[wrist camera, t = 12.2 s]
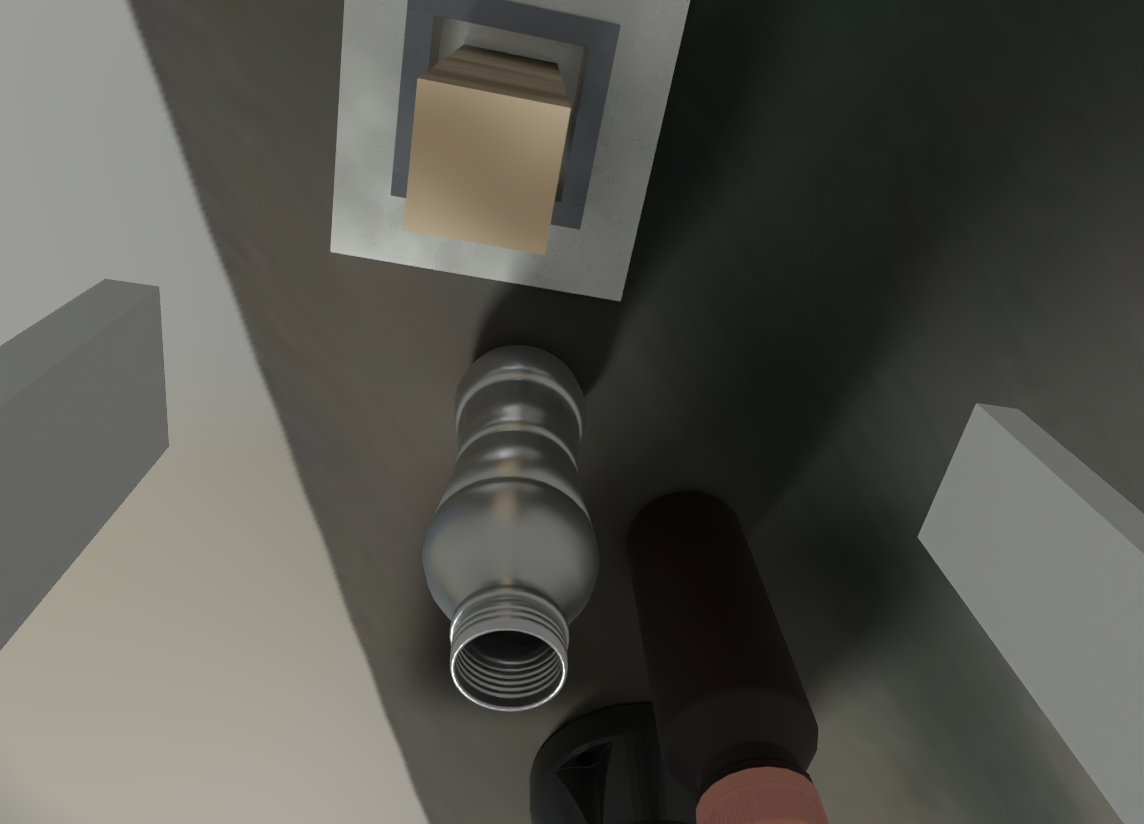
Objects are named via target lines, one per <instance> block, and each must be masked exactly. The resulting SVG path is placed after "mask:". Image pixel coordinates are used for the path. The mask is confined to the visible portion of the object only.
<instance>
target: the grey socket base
mask: <svg viewBox="0 0 1144 824" xmlns="http://www.w3.org/2000/svg"><path fill="white" fill-rule="evenodd" d="M689 4H690V0H345V3H344V20H343V38H342V56H341V74H340V91H339V109H338V127H337V145H336V162H335V180H334V198H333V216H332V233H331V251H330V252H335V253H341V254H346V255H352V256H358V257H364V258H370V259H376V260H381V261H387V262H393V263H399V264H405V265H411V266H417V267H422V268H428V269H434V270H440V271H446V272H452V273H457V274H463V275H469V276H475V277H481V278H487V279H493V280H498V281H504V282H510V283H516V284H522V285H528V286H533V287H539V288H545V289H551V290H557V291H563V292H569V293H574V294H580V295H586V296H592V297H598V298H604V299H610V300H615V301H621V298H622V294H623V289H624V285H625V281H626V276H627V272H628V268H629V263H630V259H631V255H632V250H633V246H634V242H635V237H636V233H637V229H638V224H639V220H640V216H641V211H642V207H643V203H644V198H645V194H646V190H647V185H648V181H649V177H650V173H651V168H652V164H653V160H654V155H655V151H656V147H657V142H658V138H659V134H660V129H661V125H662V121H663V116H664V112H665V108H666V103H667V99H668V95H669V90H670V86H671V82H672V77H673V73H674V69H675V64H676V60H677V56H678V51H679V47H680V43H681V39H682V34H683V30H684V26H685V21H686V17H687V13H688V8H689ZM464 44H465V45H470V46H475V47H480V48H484V49H489V50H494V51H499V52H504V53H509V54H514V55H519V56H524V57H529V58H534V59H539V60H544V61H549V62H554V63H557V64H558V67H559V70H560V74H561V77H562V80H563V84H564V87H565V90H566V94H567V97H568V100H569V104H570V107H571V110H570V116H569V122H568V127H567V133H566V139H565V144H564V150H563V155H562V161H561V167H560V172H559V178H558V184H557V189H556V195H555V201H554V206H553V212H552V217H551V223H550V229H549V234H548V240H547V246H546V251H545V255H542V254H537V253H531V252H525V251H519V250H513V249H508V248H502V247H496V246H490V245H484V244H479V243H473V242H467V241H461V240H456V239H450V238H444V237H438V236H432V235H427V234H421V233H415V232H409V231H403V228H404V217H405V206H406V196H407V185H408V174H409V164H410V153H411V142H412V132H413V121H414V110H415V100H416V89H417V78H418V77H420V76H421V75H422V74H424V73H425V72H427V71H428V70H429V69H431V68H432V67H433V66H435V65H436V64H438V63H439V62H440V61H442V60H443V59H444V58H446V57H447V56H449V55H450V54H451V53H453V52H454V51H455V50H457V49H458V48H460V47H461V46H462V45H464Z"/></svg>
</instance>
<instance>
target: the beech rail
mask: <svg viewBox="0 0 1144 824" xmlns="http://www.w3.org/2000/svg"><path fill="white" fill-rule="evenodd" d="M570 110H571V107H570V104H569V100H568V97H567V94H566V90H565V87H564V84H563V80H562V77H561V74H560V70H559V67H558V64H557V63H554V62H549V61H544V60H539V59H534V58H529V57H524V56H519V55H514V54H509V53H504V52H499V51H494V50H489V49H484V48H480V47H475V46H470V45H465V44H464V45H462V46H461V47H460V48H458V49H457V50H455V51H454V52H453V53H451V54H450V55H449V56H447V57H446V58H444V59H443V60H442V61H440V62H439V63H438V64H436V65H435V66H433V67H432V68H431V69H429V70H428V71H427V72H425V73H424V74H422V75H421V76H420V77H418V78H417V89H416V100H415V110H414V121H413V132H412V142H411V153H410V164H409V174H408V185H407V196H406V206H405V217H404V228H403V231H409V232H415V233H421V234H427V235H432V236H438V237H444V238H450V239H456V240H461V241H467V242H473V243H479V244H484V245H490V246H496V247H502V248H508V249H513V250H519V251H525V252H531V253H537V254H542V255H545V251H546V246H547V240H548V234H549V229H550V223H551V217H552V212H553V206H554V201H555V195H556V189H557V184H558V178H559V172H560V167H561V161H562V155H563V150H564V144H565V139H566V133H567V127H568V122H569V116H570Z"/></svg>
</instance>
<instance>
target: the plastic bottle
mask: <svg viewBox="0 0 1144 824" xmlns="http://www.w3.org/2000/svg"><path fill="white" fill-rule="evenodd" d="M585 419H586V403H585V399H584V396H583V393H582V390H581V388H580V386H579V384H578V382H577V380H576V378H575V377H574V375H573V373H572V371H571V370H570V369H569V368H568V367H567V366H566V364H565V363H564V362H562V361H561V360H560V359H559V358H557V357H556V356H555V355H553V354H551V353H549V352H547V351H545V350H543V349H540V348H537V347H533V346H527V345H508V346H503V347H499V348H496V349H494V350H491V351H489V352H487V353H485V354H484V355H482V356H481V357H480V358H478V359H477V360H476V361H475V362H474V363H473V364H472V365H471V366H470V368H469V369H468V370H467V372H466V373H465V375H464V376H463V378H462V380H461V381H460V383H459V385H458V387H457V390H456V394H455V397H454V422H455V428H456V434H457V459H456V462H455V466H454V469H453V473H452V476H451V479H450V483H449V485H448V487H447V489H446V491H445V493H444V496H443V498H442V500H441V502H440V504H439V506H438V508H437V510H436V512H435V514H434V517H433V518H432V520H431V524H430V527H429V530H428V532H427V535H426V539H425V542H424V545H423V565H424V570H425V575H426V579H427V583H428V587H429V590H430V592H431V594H432V596H433V598H434V600H435V602H436V603H437V604H438V606H439V607H440V608H441V610H442V611H443V612H444V613H445V614H446V616H447V617H448V618H449V619H450V620H451V625H450V637H449V638H450V644H451V654H450V671H451V676H452V679H453V681H454V684H455V686H456V687H457V688H458V689H459V691H460V692H461V693H462V694H463V695H464V696H465V697H467V698H468V699H469V700H471V701H473V702H474V703H476V704H478V705H480V706H483V707H485V708H488V709H493V710H497V711H507V712H514V711H524V710H529V709H533V708H535V707H538V706H541V705H543V704H545V703H546V702H548V701H550V700H551V699H552V698H553V697H555V696H556V695H557V694H558V693H559V691H560V690H561V689H562V687H563V685H564V683H565V681H566V676H567V670H568V659H567V650H568V646H569V628H568V625H569V624H570V623H571V622H572V621H573V620H574V619H575V618H576V617H577V616H578V615H579V614H580V613H581V611H582V610H583V609H584V607H585V606H586V605H587V603H588V601H589V598H590V596H591V594H592V592H593V589H594V586H595V583H596V581H597V578H598V572H599V567H600V559H599V549H598V545H597V539H596V535H595V532H594V529H593V526H592V523H591V521H590V518H589V515H588V512H587V509H586V506H585V503H584V500H583V497H582V492H581V486H580V479H579V475H578V467H577V466H578V454H579V445H580V443H581V440H582V437H583V432H584V426H585Z"/></svg>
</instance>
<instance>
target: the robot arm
mask: <svg viewBox="0 0 1144 824" xmlns="http://www.w3.org/2000/svg"><path fill="white" fill-rule="evenodd" d="M166 409H167V408H166V391H165V375H164V359H163V342H162V327H161V310H160V294H159V287H158V286H151V285H143V284H137V283H130V282H123V281H116V280H109V279H104V280H103V281H101V282H100V283H98V284H97V285H95V286H93V287H92V288H90V289H89V290H87V291H86V292H84V293H82V294H81V295H79V296H78V297H76V298H75V299H73V300H72V301H70V302H68V303H67V304H65V305H64V306H62V307H61V308H59V309H57V310H56V311H54V312H53V313H51V314H50V315H48V316H46V317H45V318H43V319H42V320H40V321H39V322H37V323H36V324H34V325H32V326H31V327H29V328H28V329H26V330H25V331H23V332H21V333H20V334H18V335H17V336H15V337H14V338H12V339H10V340H9V341H7V342H6V343H4V344H3V345H1V346H0V650H1V649H2V648H3V647H4V645H5V644H6V643H7V642H8V641H9V639H10V638H11V637H12V636H13V635H14V633H15V632H16V631H17V630H18V628H19V627H20V626H21V625H22V623H23V622H24V621H25V620H26V619H27V617H28V616H29V615H30V614H31V613H32V612H33V610H34V609H35V608H36V607H37V605H38V604H39V603H40V602H41V601H42V599H43V598H44V597H45V596H46V594H47V593H48V592H49V591H50V590H51V588H52V587H53V586H54V585H55V584H56V582H57V581H58V580H59V579H60V578H61V576H62V575H63V574H64V573H65V571H66V570H67V569H68V568H69V567H70V565H71V564H72V563H73V562H74V561H75V559H76V558H77V557H78V556H79V555H80V553H81V552H82V551H83V549H85V547H86V546H87V545H88V544H89V542H90V541H91V540H92V539H93V538H94V536H95V535H96V534H97V533H98V531H99V530H100V529H101V528H102V527H103V525H104V524H105V523H106V522H107V521H108V519H109V518H110V517H111V516H112V515H113V513H114V512H115V511H116V510H117V509H118V507H119V506H120V505H121V504H122V503H123V501H124V500H125V499H126V498H127V496H128V495H129V494H130V493H131V492H132V490H133V489H134V488H135V487H136V486H137V484H138V483H139V482H140V481H141V479H142V478H143V477H144V476H145V475H146V473H147V472H148V471H149V470H150V469H151V467H152V466H153V465H154V464H155V463H156V461H157V460H158V459H159V458H160V457H161V455H162V454H163V453H164V451H165V450H166V449H167V448H168V447H169V441H168V425H167V410H166ZM918 538H919V540H920V541H921V543H922V544H923V545H924V547H925V548H926V550H927V551H928V552H929V554H930V555H931V556H932V558H933V559H934V561H935V562H936V563H937V565H938V566H939V568H940V569H941V570H942V572H943V573H944V575H945V576H946V577H947V579H948V580H949V581H950V583H951V584H952V586H953V587H954V588H955V590H956V591H957V593H958V594H959V595H960V597H961V598H962V599H963V601H964V602H965V604H966V605H967V606H968V608H969V609H970V611H971V612H972V613H973V615H974V616H975V618H976V619H977V620H978V622H979V623H980V624H981V626H982V627H983V629H984V630H985V631H986V633H987V634H988V636H989V637H990V638H991V640H992V641H993V643H994V644H995V645H996V647H997V648H998V649H999V651H1000V652H1001V654H1002V655H1003V656H1004V658H1005V659H1006V661H1007V662H1008V663H1009V665H1010V666H1011V667H1012V669H1013V670H1014V672H1015V673H1016V674H1017V676H1018V677H1019V679H1020V680H1021V681H1022V683H1023V684H1024V686H1025V687H1026V688H1027V690H1028V691H1029V692H1030V694H1031V695H1032V697H1033V698H1034V699H1035V701H1036V702H1037V704H1038V705H1039V706H1040V708H1041V709H1042V711H1043V712H1044V713H1045V715H1046V716H1047V717H1048V719H1049V720H1050V722H1051V723H1052V724H1053V726H1054V727H1055V729H1056V730H1057V731H1058V733H1059V734H1060V736H1061V737H1062V738H1063V740H1064V741H1065V742H1066V744H1067V745H1068V747H1069V748H1070V749H1071V751H1072V752H1073V754H1074V755H1075V756H1076V758H1077V759H1078V760H1079V762H1080V763H1081V765H1082V766H1083V767H1084V769H1085V770H1086V772H1087V773H1088V774H1089V776H1090V777H1091V779H1092V780H1093V781H1094V783H1095V784H1096V785H1097V787H1098V788H1099V790H1100V791H1101V792H1102V794H1103V795H1104V797H1105V798H1106V799H1107V801H1108V802H1109V804H1110V805H1111V806H1112V808H1113V809H1114V810H1115V812H1116V813H1117V815H1118V816H1119V817H1120V819H1121V820H1122V822H1123V823H1124V824H1144V514H1143V513H1142V512H1141V511H1140V510H1139V509H1137V508H1136V507H1135V506H1134V505H1133V504H1131V503H1130V502H1129V501H1128V500H1127V499H1125V498H1124V497H1123V496H1122V495H1121V494H1119V493H1118V492H1117V491H1116V490H1115V489H1113V488H1112V487H1111V486H1110V485H1109V484H1108V483H1106V482H1105V481H1104V480H1103V479H1102V478H1100V477H1099V476H1098V475H1097V474H1096V473H1094V472H1093V471H1092V470H1091V469H1090V468H1088V467H1087V466H1086V465H1085V464H1084V463H1082V462H1081V461H1080V460H1079V459H1078V458H1076V457H1075V456H1074V455H1073V454H1072V453H1070V452H1069V451H1068V450H1067V449H1066V448H1064V447H1063V446H1062V445H1061V444H1060V443H1058V442H1057V441H1056V440H1055V439H1054V438H1052V437H1051V436H1050V435H1049V434H1048V433H1046V432H1045V431H1044V430H1043V429H1042V428H1040V427H1039V426H1038V425H1037V424H1036V423H1034V422H1033V421H1032V420H1031V419H1030V418H1028V417H1027V416H1026V415H1025V414H1024V413H1022V412H1021V411H1020V410H1019V409H1014V408H1007V407H1000V406H993V405H986V404H979V403H976V405H975V407H974V410H973V412H972V414H971V416H970V419H969V421H968V423H967V426H966V428H965V430H964V432H963V435H962V437H961V439H960V441H959V444H958V446H957V448H956V451H955V453H954V455H953V457H952V460H951V462H950V464H949V467H948V469H947V471H946V473H945V476H944V478H943V480H942V482H941V485H940V487H939V489H938V492H937V494H936V496H935V498H934V501H933V503H932V505H931V508H930V510H929V512H928V514H927V517H926V519H925V521H924V523H923V526H922V528H921V530H920V533H919V535H918ZM695 797H696V796H695V795H694V794H692V793H690V792H689V791H687V790H686V789H685V788H684V787H682V786H681V785H680V784H678V783H677V782H676V781H675V780H674V779H673V778H672V777H671V775H670V773H669V771H668V769H667V768H666V766H665V764H664V762H663V760H662V756H661V750H660V744H659V738H658V732H657V726H656V720H655V714H654V708H653V704H632V705H623V706H617V707H612V708H608V709H604V710H600V711H597V712H594V713H591V714H589V715H586V716H584V717H582V718H580V719H578V720H576V721H574V722H572V723H570V724H569V725H567V726H566V727H564V728H563V729H561V730H560V731H559V732H557V733H556V734H555V735H554V736H553V737H552V738H550V739H549V741H548V742H547V743H546V744H545V745H544V746H543V748H542V749H541V750H540V752H539V753H538V755H537V757H536V759H535V761H534V763H533V766H532V769H531V774H530V813H531V820H532V824H697V822H696V810H695Z"/></svg>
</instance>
